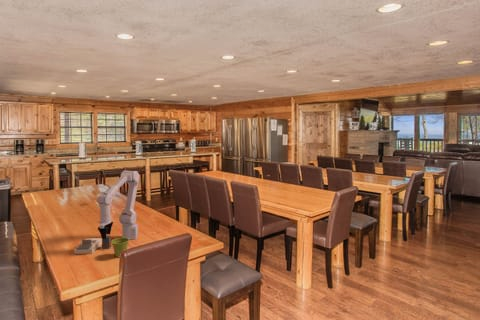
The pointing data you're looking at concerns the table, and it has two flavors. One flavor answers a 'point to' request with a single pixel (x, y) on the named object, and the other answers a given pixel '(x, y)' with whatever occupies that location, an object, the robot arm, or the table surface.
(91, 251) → the socket plate
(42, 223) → the table surface
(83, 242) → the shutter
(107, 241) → the plug
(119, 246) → the plant pot
